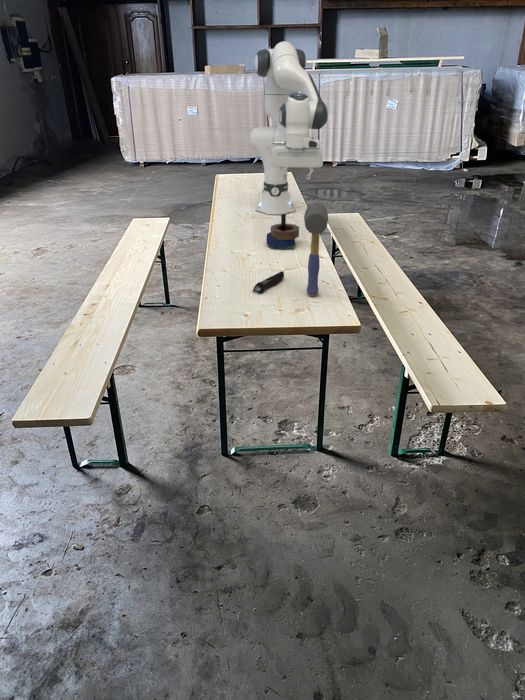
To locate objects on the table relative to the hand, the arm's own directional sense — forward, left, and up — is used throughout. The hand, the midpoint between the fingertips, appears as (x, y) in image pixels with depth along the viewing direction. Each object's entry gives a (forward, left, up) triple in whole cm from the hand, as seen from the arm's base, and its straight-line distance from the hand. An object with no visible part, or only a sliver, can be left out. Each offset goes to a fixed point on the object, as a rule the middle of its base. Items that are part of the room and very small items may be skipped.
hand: (296, 179), depth 206 cm
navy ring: (0, -6, -26) cm, 26 cm away
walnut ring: (0, -4, -23) cm, 23 cm away
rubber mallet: (+49, +7, -27) cm, 57 cm away
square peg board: (0, -5, -27) cm, 27 cm away
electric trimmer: (+42, -8, -27) cm, 51 cm away
